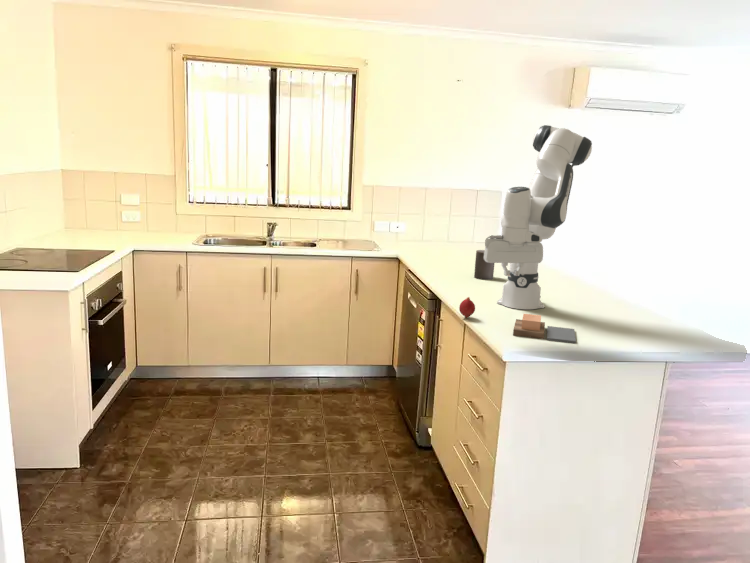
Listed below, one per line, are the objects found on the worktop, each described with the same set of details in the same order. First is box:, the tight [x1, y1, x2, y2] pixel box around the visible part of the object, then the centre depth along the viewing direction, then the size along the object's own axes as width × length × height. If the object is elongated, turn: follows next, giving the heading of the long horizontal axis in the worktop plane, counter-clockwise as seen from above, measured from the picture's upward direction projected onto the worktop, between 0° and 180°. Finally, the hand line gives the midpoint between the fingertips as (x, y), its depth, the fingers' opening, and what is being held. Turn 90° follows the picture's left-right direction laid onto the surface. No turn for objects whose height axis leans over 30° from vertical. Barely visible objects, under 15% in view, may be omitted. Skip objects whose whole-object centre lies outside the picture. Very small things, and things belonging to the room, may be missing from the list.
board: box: [512, 318, 546, 340], centre depth 195 cm, size 14×10×2 cm
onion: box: [458, 296, 476, 319], centre depth 209 cm, size 6×6×8 cm
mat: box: [546, 325, 577, 344], centre depth 191 cm, size 15×9×1 cm, turn 163°
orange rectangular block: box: [521, 313, 542, 331], centre depth 194 cm, size 9×6×3 cm, turn 163°
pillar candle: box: [473, 249, 495, 281], centre depth 285 cm, size 10×10×15 cm
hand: (511, 275), depth 193 cm, fingers open, 2 cm apart
